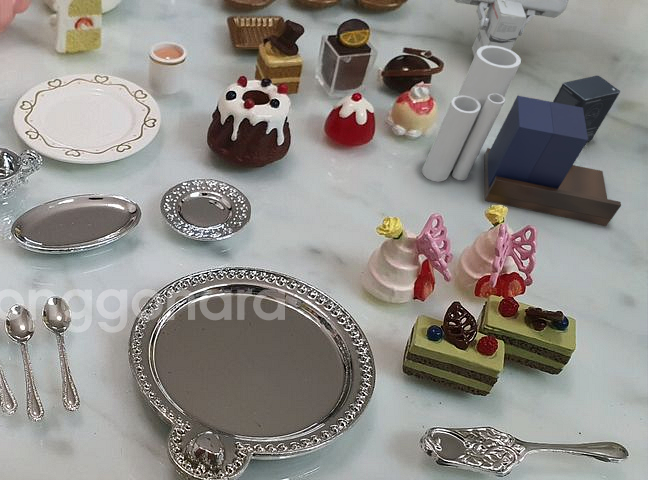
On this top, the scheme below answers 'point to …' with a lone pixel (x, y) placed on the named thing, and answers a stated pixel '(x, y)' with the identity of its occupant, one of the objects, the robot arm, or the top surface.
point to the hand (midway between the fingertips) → (500, 31)
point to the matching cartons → (538, 142)
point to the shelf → (557, 195)
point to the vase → (471, 114)
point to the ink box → (501, 25)
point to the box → (589, 99)
